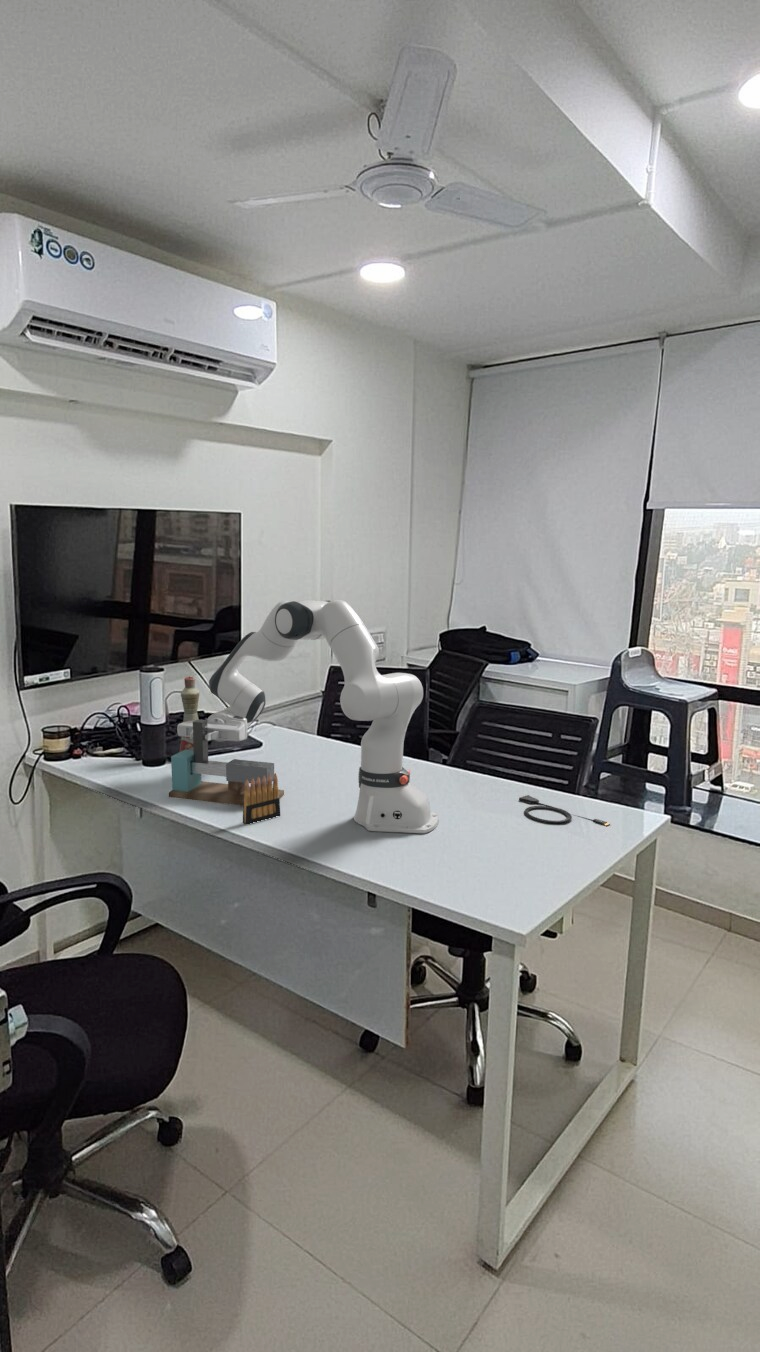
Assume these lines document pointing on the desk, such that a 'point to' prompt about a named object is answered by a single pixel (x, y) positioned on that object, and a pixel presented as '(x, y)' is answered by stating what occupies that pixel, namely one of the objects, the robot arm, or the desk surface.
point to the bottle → (189, 709)
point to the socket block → (183, 772)
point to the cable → (532, 800)
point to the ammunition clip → (261, 800)
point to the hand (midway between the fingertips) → (198, 737)
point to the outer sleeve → (248, 771)
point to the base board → (216, 793)
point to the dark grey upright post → (204, 753)
